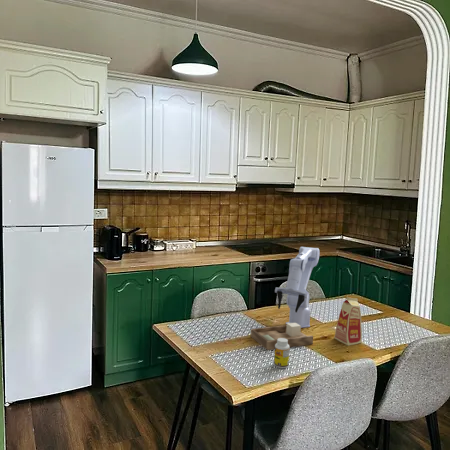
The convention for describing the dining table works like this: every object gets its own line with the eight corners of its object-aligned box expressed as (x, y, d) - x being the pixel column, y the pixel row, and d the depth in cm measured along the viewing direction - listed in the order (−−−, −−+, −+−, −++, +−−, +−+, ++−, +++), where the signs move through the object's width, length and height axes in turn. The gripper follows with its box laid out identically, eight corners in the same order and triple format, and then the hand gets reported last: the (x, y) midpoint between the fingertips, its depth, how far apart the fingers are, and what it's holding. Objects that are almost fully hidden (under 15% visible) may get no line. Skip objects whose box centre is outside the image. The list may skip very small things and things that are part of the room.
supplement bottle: (271, 363, 167) (272, 338, 166) (283, 361, 169) (284, 336, 168) (278, 369, 162) (280, 343, 161) (291, 367, 164) (292, 341, 163)
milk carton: (347, 345, 188) (350, 300, 186) (333, 338, 197) (336, 294, 194) (363, 342, 193) (366, 298, 191) (348, 335, 201) (351, 293, 199)
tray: (293, 331, 203) (293, 324, 203) (312, 344, 189) (313, 336, 188) (250, 336, 195) (250, 329, 195) (267, 350, 180) (267, 342, 180)
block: (294, 332, 197) (295, 322, 196) (300, 335, 193) (300, 325, 192) (286, 333, 195) (286, 323, 195) (291, 336, 191) (291, 326, 191)
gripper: (277, 275, 199) (270, 302, 192) (309, 281, 195) (303, 309, 188) (278, 282, 205) (271, 309, 198) (309, 288, 201) (303, 315, 194)
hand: (287, 309), depth 193 cm, fingers open, 7 cm apart
